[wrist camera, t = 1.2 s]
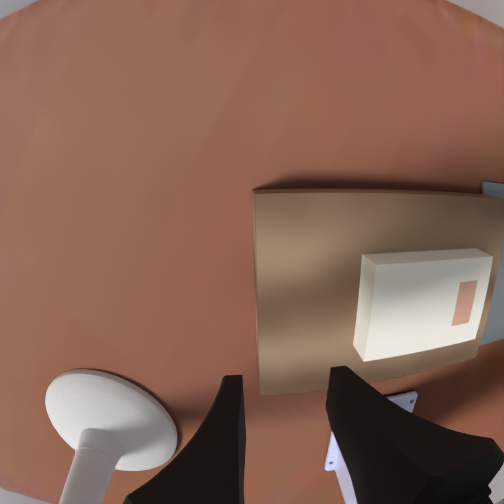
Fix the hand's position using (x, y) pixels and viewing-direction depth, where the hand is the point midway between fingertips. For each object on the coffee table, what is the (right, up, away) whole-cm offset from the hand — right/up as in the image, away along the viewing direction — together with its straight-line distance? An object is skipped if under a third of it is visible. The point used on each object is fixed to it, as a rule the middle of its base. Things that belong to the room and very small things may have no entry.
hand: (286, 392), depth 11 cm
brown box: (+8, +3, +10) cm, 13 cm away
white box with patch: (+10, +2, +7) cm, 12 cm away
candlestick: (-14, -10, +13) cm, 22 cm away
